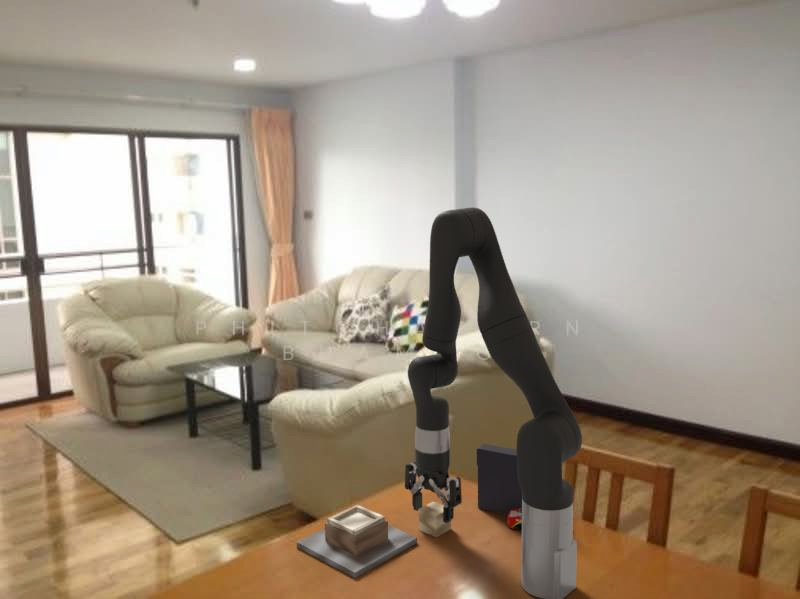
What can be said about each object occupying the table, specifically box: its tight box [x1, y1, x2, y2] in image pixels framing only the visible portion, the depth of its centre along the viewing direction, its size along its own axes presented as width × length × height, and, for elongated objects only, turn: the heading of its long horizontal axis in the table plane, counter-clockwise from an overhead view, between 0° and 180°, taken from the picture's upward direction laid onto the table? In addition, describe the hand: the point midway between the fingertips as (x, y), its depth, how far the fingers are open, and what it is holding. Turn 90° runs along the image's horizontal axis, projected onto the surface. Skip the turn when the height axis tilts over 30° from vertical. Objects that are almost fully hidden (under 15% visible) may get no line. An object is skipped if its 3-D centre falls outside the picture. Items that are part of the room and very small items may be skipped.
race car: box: [506, 508, 522, 532], centre depth 153 cm, size 13×5×4 cm, turn 78°
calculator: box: [476, 443, 522, 516], centre depth 160 cm, size 11×4×15 cm, turn 59°
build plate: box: [296, 504, 418, 579], centre depth 147 cm, size 18×18×6 cm
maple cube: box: [418, 501, 452, 538], centre depth 153 cm, size 5×5×5 cm
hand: (432, 515), depth 153 cm, fingers open, 8 cm apart
